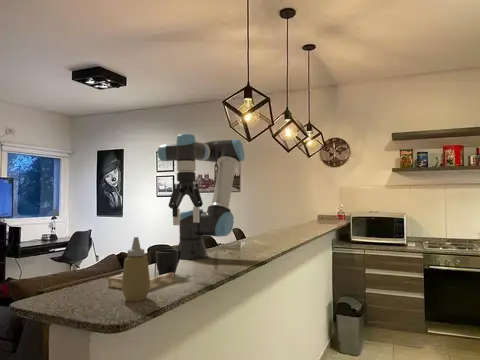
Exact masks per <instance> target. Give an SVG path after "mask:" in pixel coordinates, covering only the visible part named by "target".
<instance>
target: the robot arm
mask: <svg viewBox="0 0 480 360" xmlns="http://www.w3.org/2000/svg"><path fill="white" fill-rule="evenodd" d="M157 156H158V159H159V160H160V161H161V162H174V161H175V162H176V170H177V173H176V181H177V182H178V183H173V188H172V192H171V196H170V199H169V203H168V207H169V208H170V209H172V225H173V226H179V241H178V246H177V248H176V250H180V251H181V256H180V260H198V259H204V258H206V257H208V255H207V254H208V252H207V249H206V245H205V243H204V237H219V238H221V237H227V236H228V235H230V234H231V233H232V230H233V228H234V222H235V221H234V214H233V213H232V209H230V208H229V206H230V201H231V195H232V189H233V183H234V177H235V172H236V168H238V167H239V164H240V162H243V161H245V149H244V145H243V142H242V141H241V140H239V139H233V138H232V139H223V140H212V141H211V140H210V141H206V142H199V141H196V137H195V134H191V133H180V134H177V136H176V143H170V144H167V143H165V144H161V145H159V146H158V148H157ZM196 161H199V162H200V161H201V162H210V163H211V162H212V163H217V164H218V165H219V166H218V169H217V176H216V181H215V187H214V190H213V197H212V199H211V200H212V201H211V204H210V205H209V206H207V211H204V210H203V208H202V206H203V203H204V202H203V199H202V196H201V193H200V190H199V184H198V183H195V181H196V180H197V179H196V172H195V171H196ZM185 196H188V197H189V199H190V201H191V203H192V205H193V206H192V210H185V211H181V210H180V208H179V206H180V205H181V203H182V201H183V199H184V197H185Z"/></svg>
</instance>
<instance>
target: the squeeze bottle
mask: <svg viewBox="0 0 480 360" xmlns="http://www.w3.org/2000/svg"><path fill="white" fill-rule="evenodd" d="M139 239H140V238H139V236H135V237H133V241H132V246H131V249H128V250H127V257H126V258H124V259H123V260H124V261H123V270H122V274H123V278H122V289H121V291H122V294H123V296H124V299H125V301H127V302H133V303H135V302H141V301H144V300H146V299H147V296H148V294H149V291H150V289H149V288H150V269H149V262H148V257H147V256H145V249H144V248H141V244H140V240H139Z"/></svg>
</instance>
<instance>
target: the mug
mask: <svg viewBox="0 0 480 360" xmlns="http://www.w3.org/2000/svg"><path fill="white" fill-rule="evenodd" d="M180 256H181V251H180V250H177V249H171V248H169V249H167V248H166V249H160V250H159V249H158V250H156V251H155V263H156V265H155V266H156V268H157V269H156V270H157V272H158V276H160V275H163V274H167V273H170V272H173V273H174V277H175V275H176V271H177V268H178V265H179V263H180V260H181V259H180Z"/></svg>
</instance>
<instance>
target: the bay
mask: <svg viewBox="0 0 480 360" xmlns="http://www.w3.org/2000/svg"><path fill="white" fill-rule="evenodd" d="M122 278H123V273H121V274H117V275H113V276H110V277H108V278H107V287H108V286H109V287H108V288H113V287H115V288H114V289H119V288H121V290H122ZM149 278H150V277H149ZM174 282H175V276H174V273H173V272H170V273H167V274H163V275H160V276H159V275H156V276H154V277H151V278H150V288H149V290H153V289H155V288H157V287H162V286H165V285H167V284H170V283H174Z"/></svg>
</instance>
